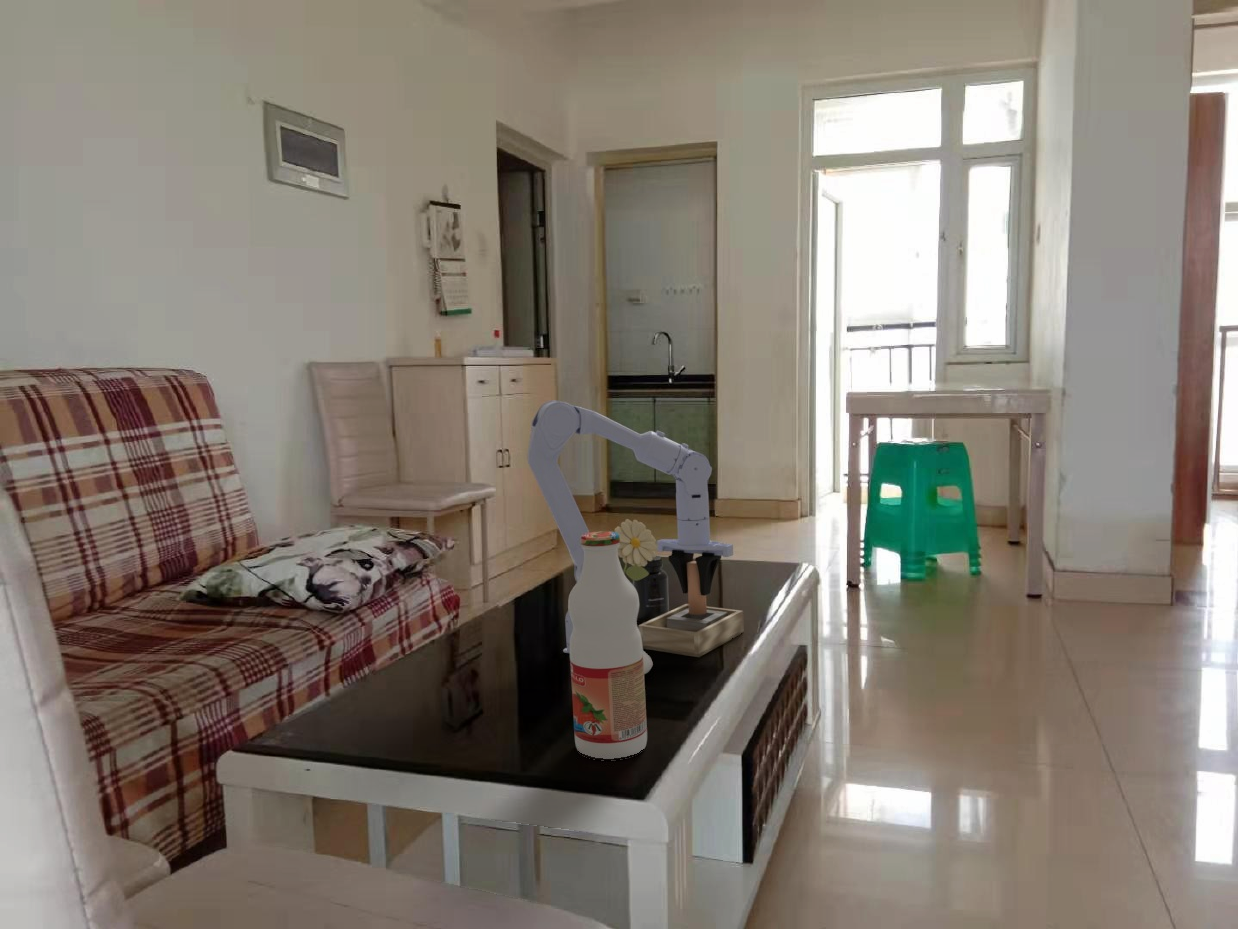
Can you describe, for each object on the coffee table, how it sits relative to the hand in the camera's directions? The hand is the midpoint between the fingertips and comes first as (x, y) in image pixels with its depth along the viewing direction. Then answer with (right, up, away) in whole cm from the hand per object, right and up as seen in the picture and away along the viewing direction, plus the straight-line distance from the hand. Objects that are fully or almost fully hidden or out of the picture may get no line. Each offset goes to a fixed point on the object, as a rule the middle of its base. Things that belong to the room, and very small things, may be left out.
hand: (696, 593), depth 166 cm
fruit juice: (-15, -14, -46) cm, 50 cm away
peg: (0, -4, +1) cm, 4 cm away
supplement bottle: (-7, -7, +15) cm, 18 cm away
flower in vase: (-13, -11, -17) cm, 24 cm away
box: (-1, -8, -1) cm, 8 cm away
